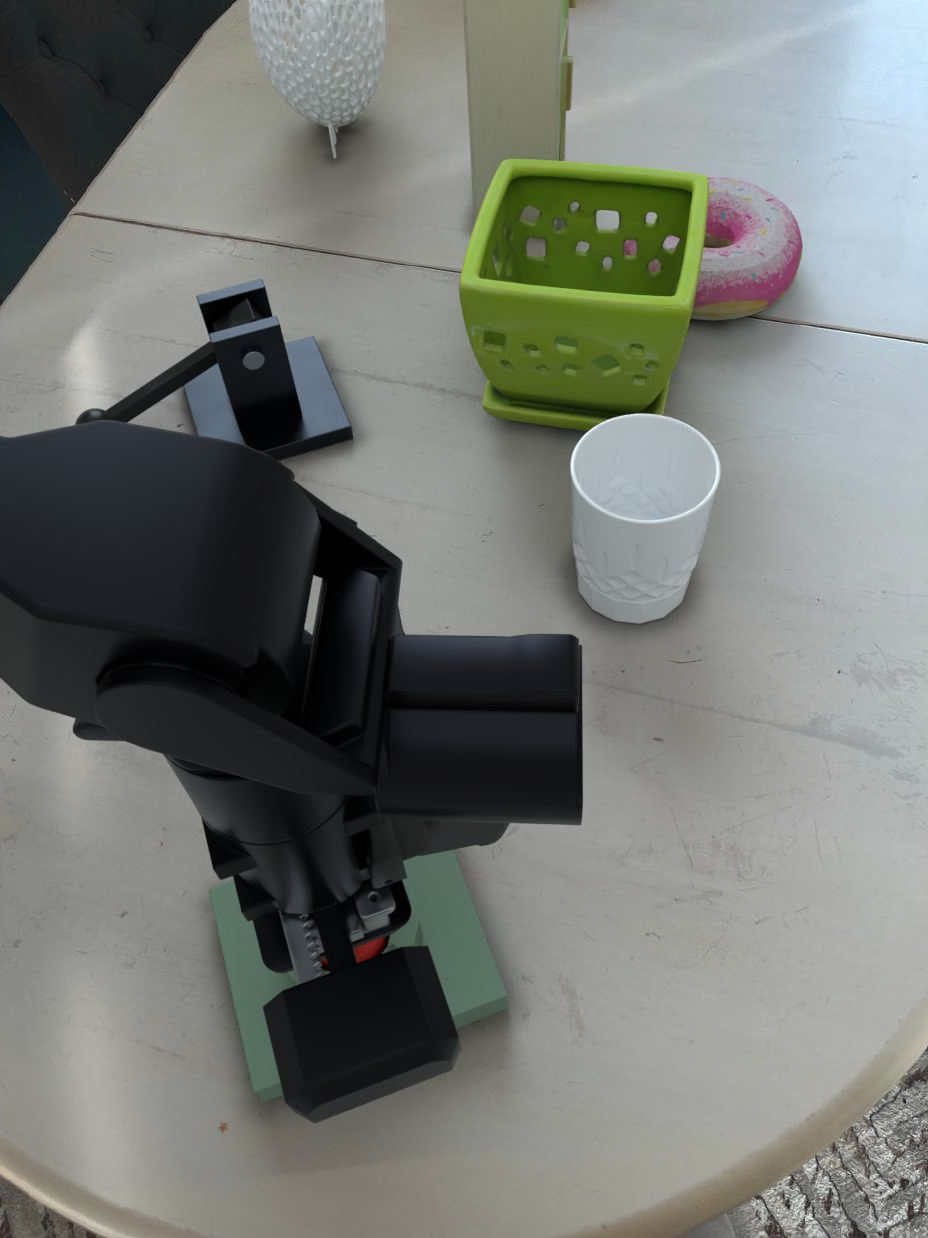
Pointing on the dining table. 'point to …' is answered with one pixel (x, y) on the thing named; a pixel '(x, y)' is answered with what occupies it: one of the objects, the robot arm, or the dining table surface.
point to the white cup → (640, 513)
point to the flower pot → (581, 290)
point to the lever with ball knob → (173, 373)
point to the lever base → (264, 383)
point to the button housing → (434, 922)
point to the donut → (740, 251)
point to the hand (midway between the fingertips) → (343, 921)
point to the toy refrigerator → (516, 85)
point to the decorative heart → (321, 55)
